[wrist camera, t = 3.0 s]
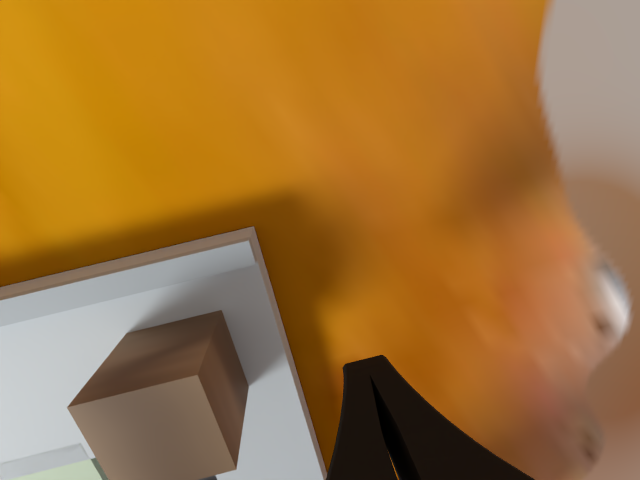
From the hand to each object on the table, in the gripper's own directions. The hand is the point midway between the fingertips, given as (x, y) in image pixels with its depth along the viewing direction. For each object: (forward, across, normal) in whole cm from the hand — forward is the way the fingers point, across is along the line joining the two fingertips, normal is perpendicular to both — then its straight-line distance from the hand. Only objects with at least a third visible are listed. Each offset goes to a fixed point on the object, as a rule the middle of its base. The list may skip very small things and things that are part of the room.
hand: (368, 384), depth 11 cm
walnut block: (+4, +7, 0) cm, 8 cm away
